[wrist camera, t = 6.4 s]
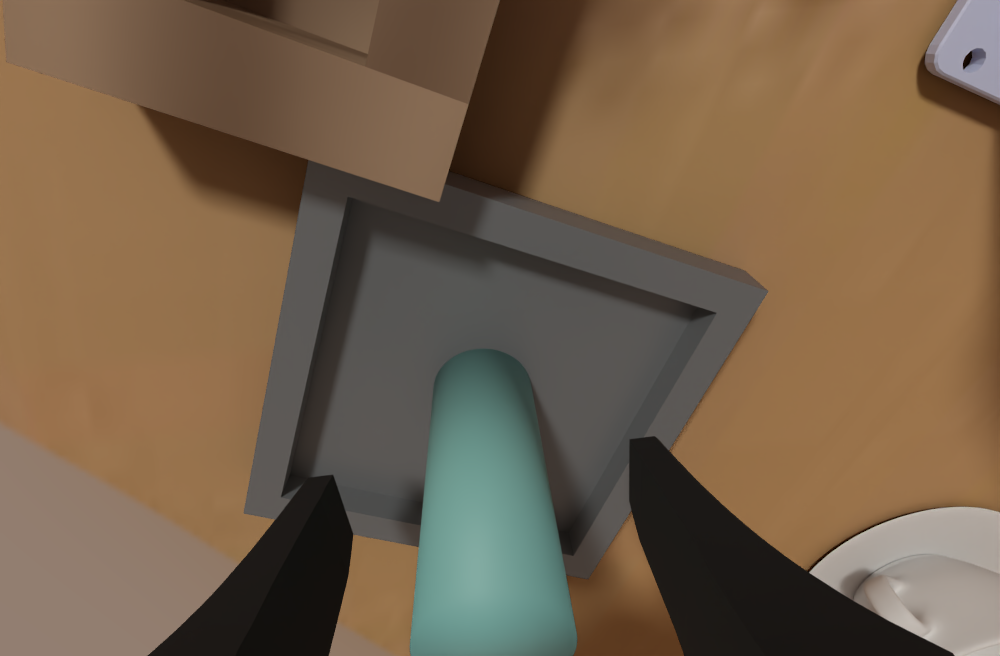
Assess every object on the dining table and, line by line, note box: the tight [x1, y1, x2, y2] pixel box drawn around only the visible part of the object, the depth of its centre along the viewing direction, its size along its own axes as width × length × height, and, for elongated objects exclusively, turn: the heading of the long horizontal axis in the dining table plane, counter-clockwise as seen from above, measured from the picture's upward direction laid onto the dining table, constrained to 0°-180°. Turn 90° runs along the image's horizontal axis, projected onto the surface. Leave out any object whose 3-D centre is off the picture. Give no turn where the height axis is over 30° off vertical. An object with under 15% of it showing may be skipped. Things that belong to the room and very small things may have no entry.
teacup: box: [809, 507, 1000, 656], centre depth 22 cm, size 10×10×5 cm
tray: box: [244, 160, 768, 579], centre depth 17 cm, size 12×12×1 cm
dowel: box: [410, 349, 577, 656], centre depth 13 cm, size 3×3×8 cm
